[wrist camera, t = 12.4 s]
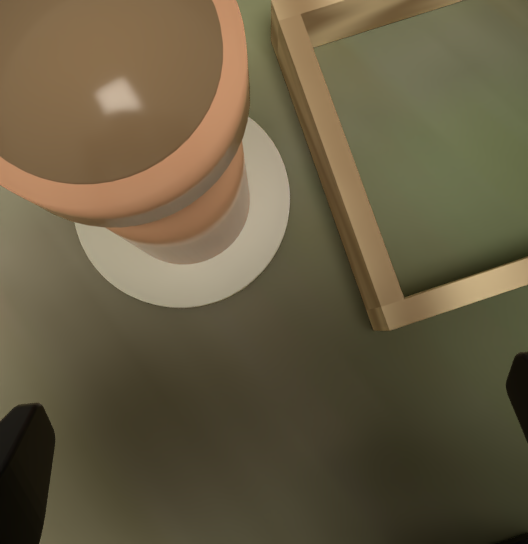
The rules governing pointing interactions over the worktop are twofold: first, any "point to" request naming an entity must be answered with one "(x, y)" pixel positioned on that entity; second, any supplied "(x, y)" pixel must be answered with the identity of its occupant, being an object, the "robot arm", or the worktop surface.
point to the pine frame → (341, 167)
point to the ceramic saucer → (220, 269)
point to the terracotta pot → (129, 118)
